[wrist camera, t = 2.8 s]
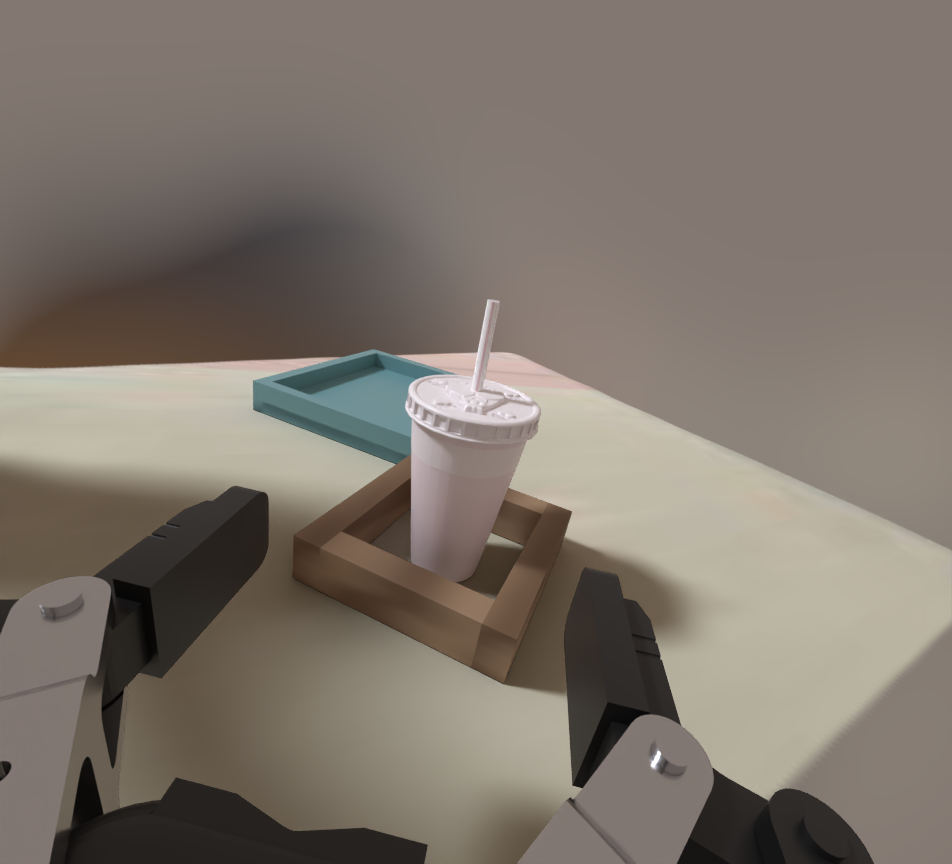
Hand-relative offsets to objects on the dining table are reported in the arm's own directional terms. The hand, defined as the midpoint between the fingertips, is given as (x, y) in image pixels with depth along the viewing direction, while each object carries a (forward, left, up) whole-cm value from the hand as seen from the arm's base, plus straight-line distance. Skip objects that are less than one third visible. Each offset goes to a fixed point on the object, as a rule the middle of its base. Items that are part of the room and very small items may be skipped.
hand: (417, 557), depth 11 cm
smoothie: (-3, +11, -9) cm, 15 cm away
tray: (-16, +27, -9) cm, 33 cm away
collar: (-3, +11, -9) cm, 15 cm away
